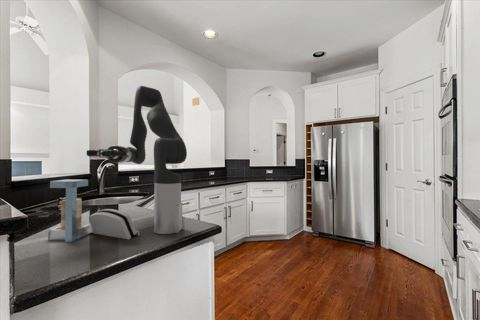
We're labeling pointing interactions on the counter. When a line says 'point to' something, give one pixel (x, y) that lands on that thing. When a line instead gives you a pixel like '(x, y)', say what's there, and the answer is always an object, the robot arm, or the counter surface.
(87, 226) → the grey i-shaped block
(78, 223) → the link
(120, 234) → the gray curved wedge
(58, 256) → the counter surface
